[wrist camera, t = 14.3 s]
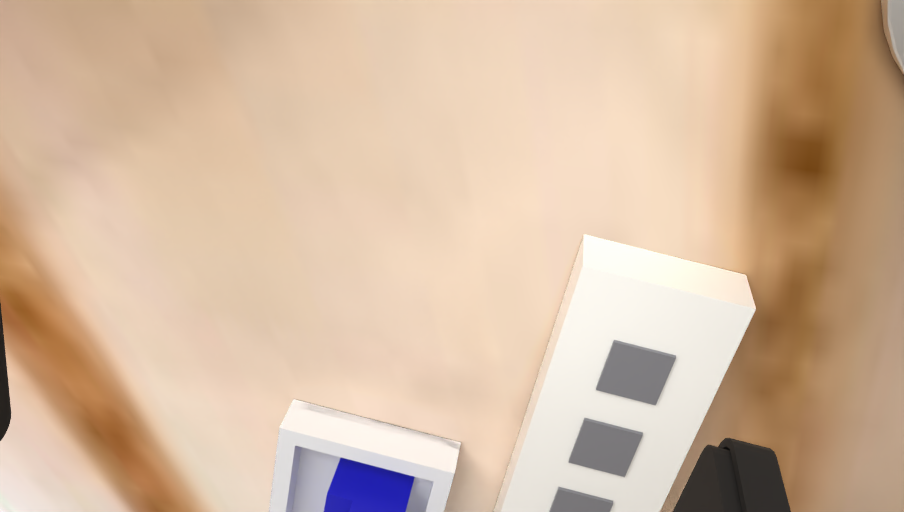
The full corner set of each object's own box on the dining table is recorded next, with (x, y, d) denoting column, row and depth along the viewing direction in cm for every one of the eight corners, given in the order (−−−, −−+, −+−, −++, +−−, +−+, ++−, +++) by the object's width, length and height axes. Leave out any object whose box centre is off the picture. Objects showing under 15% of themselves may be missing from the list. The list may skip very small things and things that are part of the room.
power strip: (746, 274, 40) (758, 316, 37) (602, 590, 53) (602, 641, 50) (584, 234, 41) (582, 271, 38) (478, 557, 53) (470, 606, 50)
